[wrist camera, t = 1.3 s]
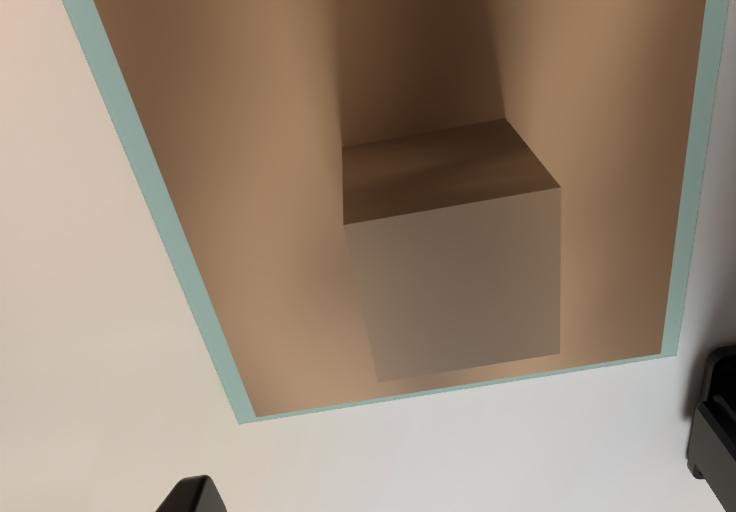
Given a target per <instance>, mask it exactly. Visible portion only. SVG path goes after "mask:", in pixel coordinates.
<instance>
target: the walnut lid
mask: <svg viewBox="0 0 736 512" xmlns="http://www.w3.org/2000/svg"><path fill="white" fill-rule="evenodd" d="M93 1H94V3H95V6H96V9H97V11H98V14H99V16H100V19H101V21H102V24H103V27H104V29H105V32H106V34H107V37H108V39H109V42H110V44H111V47H112V50H113V52H114V55H115V57H116V60H117V62H118V65H119V67H120V70H121V73H122V75H123V78H124V80H125V83H126V85H127V88H128V91H129V93H130V96H131V98H132V101H133V103H134V106H135V108H136V111H137V114H138V116H139V119H140V121H141V124H142V126H143V129H144V131H145V134H146V137H147V139H148V142H149V144H150V147H151V149H152V152H153V155H154V157H155V160H156V162H157V165H158V167H159V170H160V172H161V175H162V178H163V180H164V183H165V185H166V188H167V190H168V193H169V195H170V198H171V201H172V203H173V206H174V208H175V211H176V213H177V216H178V219H179V221H180V224H181V226H182V229H183V231H184V234H185V236H186V239H187V242H188V244H189V247H190V249H191V252H192V254H193V257H194V259H195V262H196V265H197V267H198V270H199V272H200V275H201V277H202V280H203V283H204V285H205V288H206V290H207V293H208V295H209V298H210V300H211V303H212V306H213V308H214V311H215V313H216V316H217V318H218V321H219V324H220V326H221V329H222V331H223V334H224V336H225V339H226V341H227V344H228V347H229V349H230V352H231V354H232V357H233V359H234V362H235V364H236V367H237V370H238V372H239V375H240V377H241V380H242V382H243V385H244V388H245V390H246V393H247V395H248V398H249V400H250V403H251V405H252V408H253V411H254V413H255V416H256V418H257V417H263V416H269V415H276V414H282V413H288V412H295V411H301V410H307V409H314V408H320V407H326V406H333V405H339V404H345V403H352V402H358V401H364V400H371V399H377V398H383V397H390V396H396V395H402V394H409V393H415V392H421V391H428V390H434V389H440V388H447V387H453V386H460V385H466V384H472V383H479V382H485V381H491V380H498V379H504V378H510V377H517V376H523V375H529V374H536V373H542V372H548V371H555V370H561V369H567V368H574V367H580V366H586V365H593V364H599V363H605V362H612V361H618V360H624V359H631V358H637V357H643V356H650V355H656V354H661V348H662V340H663V332H664V324H665V317H666V309H667V301H668V293H669V285H670V278H671V270H672V262H673V254H674V246H675V239H676V231H677V223H678V215H679V207H680V200H681V192H682V184H683V176H684V168H685V161H686V153H687V145H688V137H689V129H690V122H691V114H692V106H693V98H694V90H695V83H696V75H697V67H698V59H699V52H700V44H701V36H702V28H703V20H704V13H705V5H706V0H93Z"/></svg>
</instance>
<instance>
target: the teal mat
mask: <svg viewBox="0 0 736 512" xmlns="http://www.w3.org/2000/svg"><path fill="white" fill-rule="evenodd" d="M62 2H63V5H64V7H65V9H66V12H67V14H68V16H69V19H70V21H71V24H72V26H73V28H74V31H75V33H76V36H77V38H78V40H79V43H80V45H81V48H82V50H83V52H84V55H85V57H86V60H87V62H88V64H89V67H90V69H91V72H92V74H93V76H94V79H95V81H96V84H97V86H98V88H99V91H100V93H101V96H102V98H103V100H104V103H105V105H106V108H107V110H108V112H109V115H110V117H111V120H112V122H113V124H114V127H115V129H116V132H117V134H118V136H119V139H120V141H121V144H122V146H123V148H124V151H125V153H126V155H127V158H128V160H129V163H130V165H131V167H132V170H133V172H134V175H135V177H136V179H137V182H138V184H139V187H140V189H141V191H142V194H143V196H144V199H145V201H146V203H147V206H148V208H149V211H150V213H151V215H152V218H153V220H154V223H155V225H156V227H157V230H158V232H159V235H160V237H161V239H162V242H163V244H164V247H165V249H166V251H167V254H168V256H169V259H170V261H171V263H172V266H173V268H174V271H175V273H176V275H177V278H178V280H179V283H180V285H181V287H182V290H183V292H184V294H185V297H186V299H187V302H188V304H189V306H190V309H191V311H192V314H193V316H194V318H195V321H196V323H197V326H198V328H199V330H200V333H201V335H202V338H203V340H204V342H205V345H206V347H207V350H208V352H209V354H210V357H211V359H212V362H213V364H214V366H215V369H216V371H217V374H218V376H219V378H220V381H221V383H222V386H223V388H224V390H225V393H226V395H227V398H228V400H229V402H230V405H231V407H232V410H233V412H234V414H235V417H236V419H237V422H238V424H245V423H251V422H257V421H264V420H270V419H277V418H283V417H289V416H296V415H302V414H308V413H315V412H321V411H327V410H334V409H340V408H346V407H353V406H359V405H365V404H372V403H378V402H385V401H391V400H397V399H404V398H410V397H416V396H423V395H429V394H435V393H442V392H448V391H454V390H461V389H467V388H474V387H480V386H486V385H493V384H499V383H505V382H512V381H518V380H524V379H531V378H537V377H543V376H550V375H556V374H562V373H569V372H575V371H582V370H588V369H594V368H601V367H607V366H613V365H620V364H626V363H632V362H639V361H645V360H651V359H658V358H664V357H670V356H677V349H678V342H679V336H680V329H681V322H682V315H683V308H684V302H685V295H686V288H687V281H688V275H689V268H690V261H691V254H692V248H693V241H694V234H695V227H696V220H697V214H698V207H699V200H700V193H701V187H702V180H703V173H704V166H705V160H706V153H707V146H708V139H709V132H710V126H711V119H712V112H713V105H714V99H715V92H716V85H717V78H718V72H719V65H720V58H721V51H722V44H723V38H724V31H725V24H726V17H727V11H728V4H729V0H706V5H705V13H704V20H703V28H702V36H701V44H700V52H699V59H698V67H697V75H696V83H695V90H694V98H693V106H692V114H691V122H690V129H689V137H688V145H687V153H686V161H685V168H684V176H683V184H682V192H681V200H680V207H679V215H678V223H677V231H676V239H675V246H674V254H673V262H672V270H671V278H670V285H669V293H668V301H667V309H666V317H665V324H664V332H663V340H662V348H661V354H656V355H650V356H643V357H637V358H631V359H624V360H618V361H612V362H605V363H599V364H593V365H586V366H580V367H574V368H567V369H561V370H555V371H548V372H542V373H536V374H529V375H523V376H517V377H510V378H504V379H498V380H491V381H485V382H479V383H472V384H466V385H460V386H453V387H447V388H440V389H434V390H428V391H421V392H415V393H409V394H402V395H396V396H390V397H383V398H377V399H371V400H364V401H358V402H352V403H345V404H339V405H333V406H326V407H320V408H314V409H307V410H301V411H295V412H288V413H282V414H276V415H269V416H263V417H257V418H256V416H255V413H254V411H253V408H252V405H251V403H250V400H249V398H248V395H247V393H246V390H245V388H244V385H243V382H242V380H241V377H240V375H239V372H238V370H237V367H236V364H235V362H234V359H233V357H232V354H231V352H230V349H229V347H228V344H227V341H226V339H225V336H224V334H223V331H222V329H221V326H220V324H219V321H218V318H217V316H216V313H215V311H214V308H213V306H212V303H211V300H210V298H209V295H208V293H207V290H206V288H205V285H204V283H203V280H202V277H201V275H200V272H199V270H198V267H197V265H196V262H195V259H194V257H193V254H192V252H191V249H190V247H189V244H188V242H187V239H186V236H185V234H184V231H183V229H182V226H181V224H180V221H179V219H178V216H177V213H176V211H175V208H174V206H173V203H172V201H171V198H170V195H169V193H168V190H167V188H166V185H165V183H164V180H163V178H162V175H161V172H160V170H159V167H158V165H157V162H156V160H155V157H154V155H153V152H152V149H151V147H150V144H149V142H148V139H147V137H146V134H145V131H144V129H143V126H142V124H141V121H140V119H139V116H138V114H137V111H136V108H135V106H134V103H133V101H132V98H131V96H130V93H129V91H128V88H127V85H126V83H125V80H124V78H123V75H122V73H121V70H120V67H119V65H118V62H117V60H116V57H115V55H114V52H113V50H112V47H111V44H110V42H109V39H108V37H107V34H106V32H105V29H104V27H103V24H102V21H101V19H100V16H99V14H98V11H97V9H96V6H95V3H94V1H93V0H62Z"/></svg>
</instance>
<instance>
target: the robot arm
mask: <svg viewBox="0 0 736 512" xmlns="http://www.w3.org/2000/svg"><path fill="white" fill-rule="evenodd" d="M688 453H689V458H688V463H687V466H688V469H689V470H690V472H691V473H692V475H693V476H694V477H695V478H697V479H705V480H706V481H707V483H708V484H709V486H710V488H711V489H712V491H713V492H714V494H715V495H716V497H717V498H718V500H719V501H720V503H721V505H722V506H723V508H724V509H725V511H726V512H736V345H733V346H726V347H722V348H718V349H716V350H715V351H713V352H712V353H711V354H710V355H709V356H708V358H707V360H706V366H705V371H704V377H703V382H702V387H701V393H700V398H699V404H698V406H697V408H696V411H695V416H694V422H693V427H692V433H691V438H690V444H689V449H688ZM156 512H227V510H226V507H225V505H224V503H223V501H222V499H221V496H220V494H219V492H218V490H217V488H216V486H215V484H214V482H213V480H212V479H211V477H209V476H208V475H200V476H194V477H187V478H183V479H182V480H180V481H179V482H178V483H177V484H176V485H175V487H174V488H173V489H172V491H171V492H170V493H169V494H168V496H167V497H166V498H165V500H164V501H163V502H162V504H161V505H160V506H159V508H158V509H157V510H156Z"/></svg>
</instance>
